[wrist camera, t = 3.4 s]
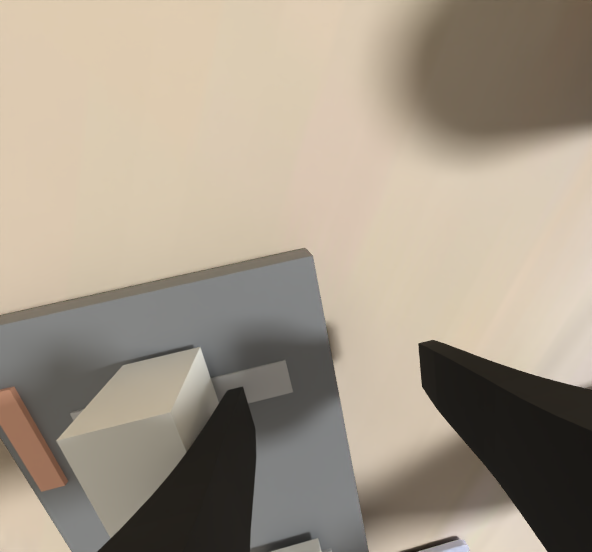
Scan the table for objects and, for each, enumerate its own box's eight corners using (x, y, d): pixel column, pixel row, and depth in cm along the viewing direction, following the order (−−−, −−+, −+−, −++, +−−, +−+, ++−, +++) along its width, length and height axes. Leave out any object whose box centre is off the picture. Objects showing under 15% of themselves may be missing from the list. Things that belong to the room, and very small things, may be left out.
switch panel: (366, 561, 18) (379, 608, 16) (160, 622, 18) (146, 678, 16) (305, 247, 13) (313, 256, 10) (-9, 317, 12) (-68, 341, 10)
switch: (233, 445, 12) (221, 539, 9) (165, 463, 12) (126, 565, 8) (200, 346, 11) (170, 412, 7) (123, 365, 10) (56, 440, 7)
